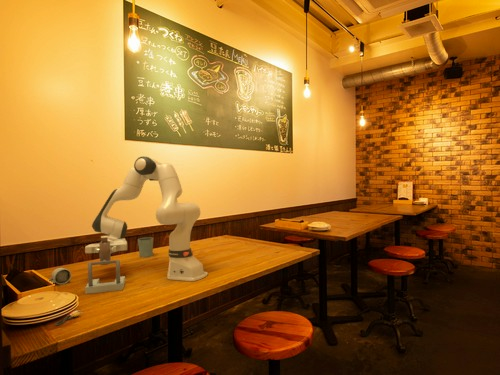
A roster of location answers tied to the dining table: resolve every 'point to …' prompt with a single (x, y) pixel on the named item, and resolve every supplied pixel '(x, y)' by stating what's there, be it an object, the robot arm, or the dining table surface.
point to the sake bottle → (104, 249)
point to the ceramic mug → (60, 276)
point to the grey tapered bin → (145, 247)
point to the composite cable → (69, 317)
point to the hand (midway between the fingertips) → (104, 250)
